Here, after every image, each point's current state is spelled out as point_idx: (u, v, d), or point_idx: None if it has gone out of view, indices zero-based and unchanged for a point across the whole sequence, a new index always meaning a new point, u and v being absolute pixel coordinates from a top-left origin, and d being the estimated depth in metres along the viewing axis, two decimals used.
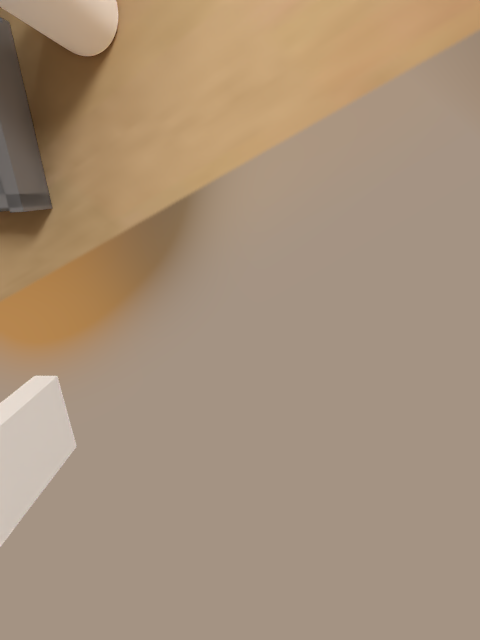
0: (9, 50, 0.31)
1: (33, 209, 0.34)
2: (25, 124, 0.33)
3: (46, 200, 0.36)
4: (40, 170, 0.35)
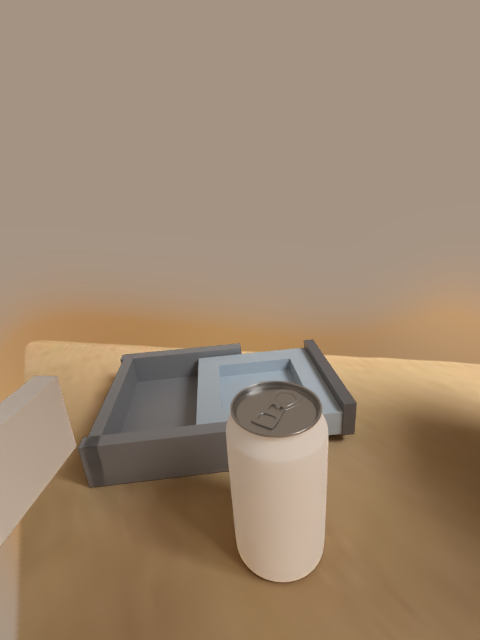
0: None
1: (82, 461, 0.30)
2: (173, 467, 0.32)
3: (96, 480, 0.31)
4: (129, 477, 0.32)
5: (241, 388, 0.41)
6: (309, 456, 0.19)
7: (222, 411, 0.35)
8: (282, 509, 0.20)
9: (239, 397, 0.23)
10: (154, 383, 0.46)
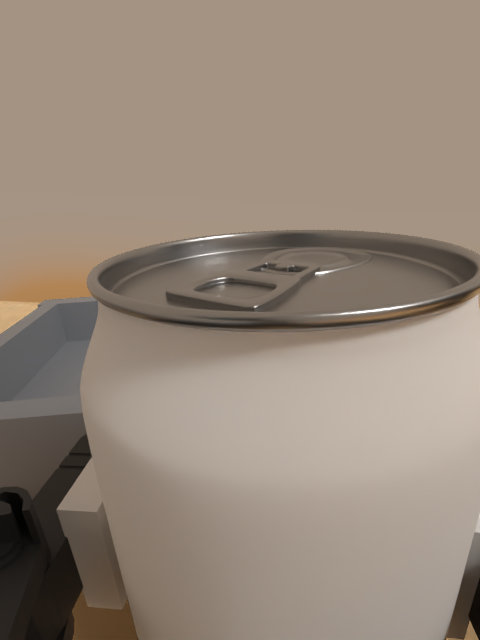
0: None
1: None
2: None
3: None
4: None
5: None
6: (458, 459, 0.03)
7: None
8: None
9: (159, 258, 0.07)
10: None
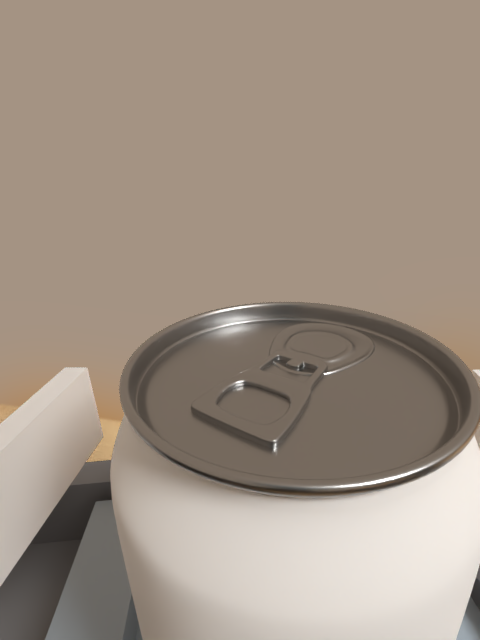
0: None
1: None
2: None
3: None
4: None
5: None
6: (450, 588, 0.04)
7: None
8: None
9: (176, 337, 0.07)
10: None
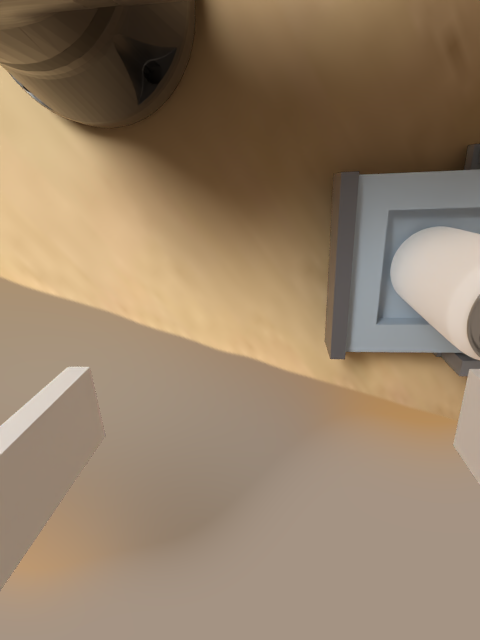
0: None
1: None
2: None
3: None
4: None
5: None
6: None
7: None
8: None
9: None
10: None
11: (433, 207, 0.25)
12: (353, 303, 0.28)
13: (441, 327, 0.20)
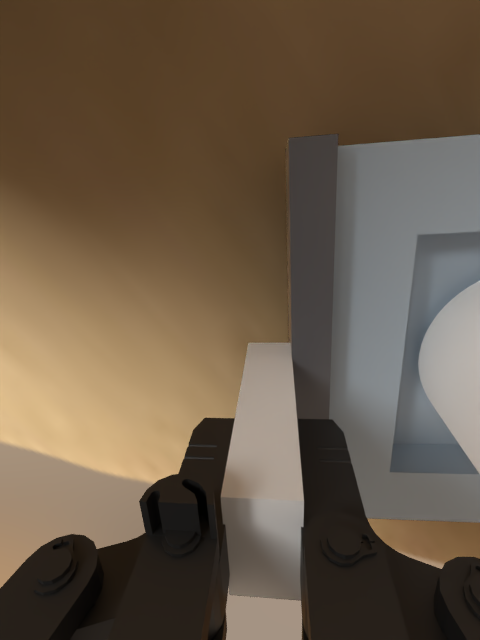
0: None
1: None
2: None
3: None
4: None
5: None
6: None
7: None
8: None
9: None
10: None
11: None
12: None
13: None
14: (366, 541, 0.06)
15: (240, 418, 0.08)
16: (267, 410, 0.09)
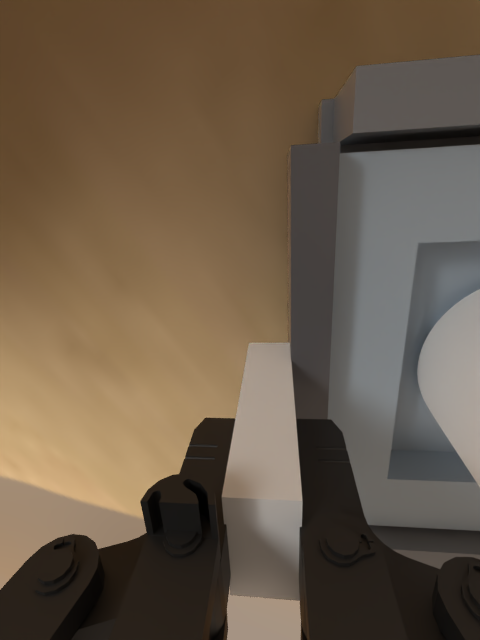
0: None
1: None
2: None
3: None
4: None
5: None
6: None
7: None
8: None
9: None
10: None
11: None
12: None
13: None
14: (365, 541, 0.06)
15: (241, 418, 0.08)
16: (266, 410, 0.09)
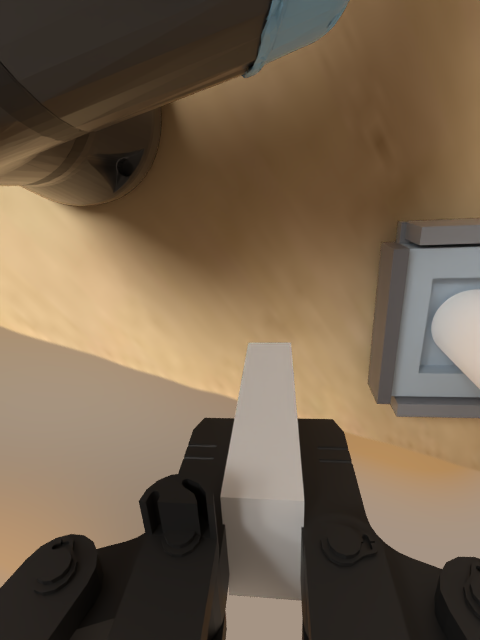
0: (430, 221, 0.30)
1: None
2: None
3: None
4: None
5: None
6: None
7: None
8: None
9: None
10: None
11: (473, 276, 0.29)
12: (398, 355, 0.32)
13: None
14: (366, 541, 0.06)
15: (240, 418, 0.08)
16: (267, 410, 0.09)
